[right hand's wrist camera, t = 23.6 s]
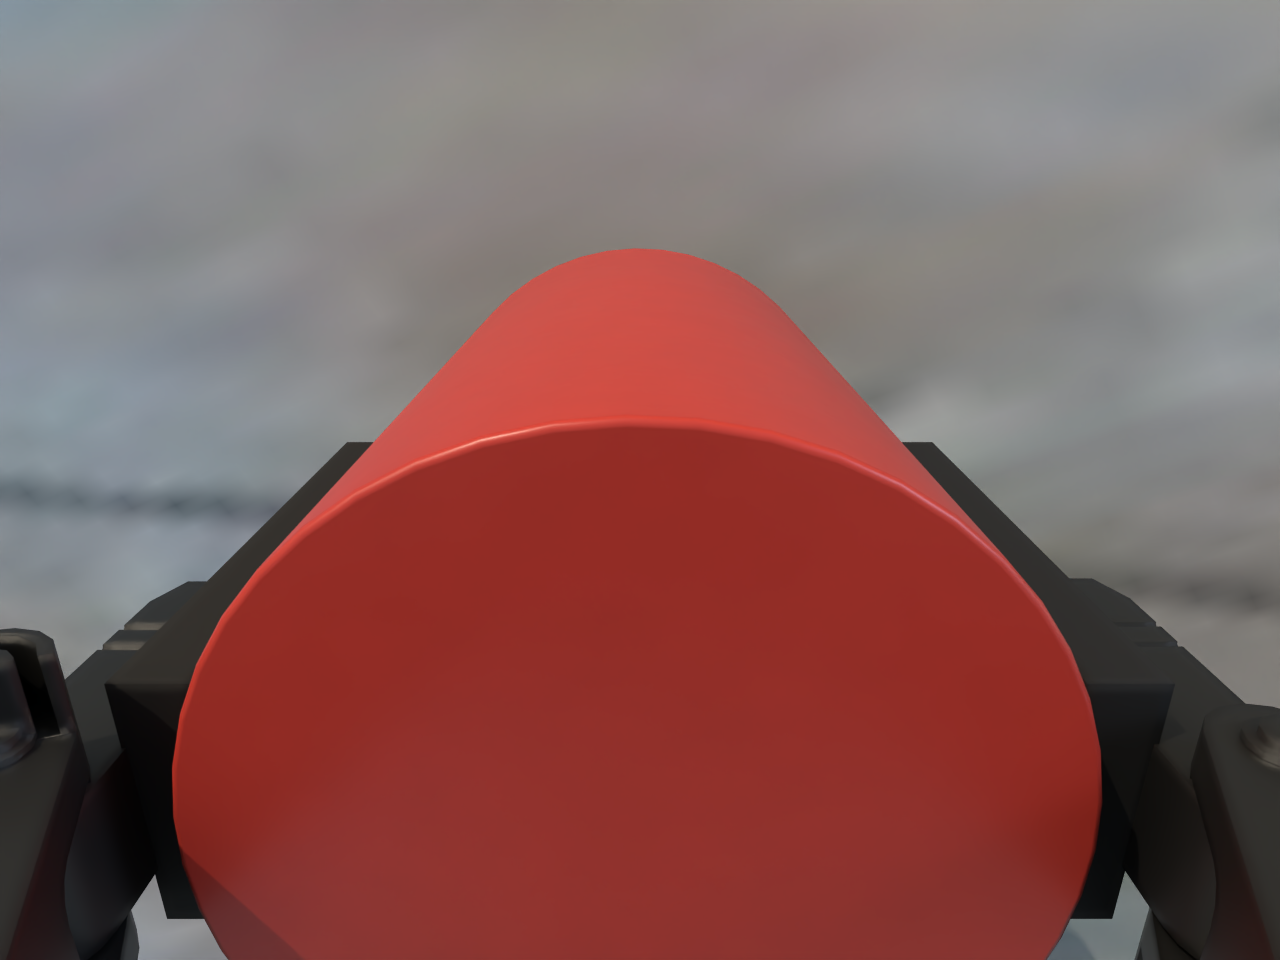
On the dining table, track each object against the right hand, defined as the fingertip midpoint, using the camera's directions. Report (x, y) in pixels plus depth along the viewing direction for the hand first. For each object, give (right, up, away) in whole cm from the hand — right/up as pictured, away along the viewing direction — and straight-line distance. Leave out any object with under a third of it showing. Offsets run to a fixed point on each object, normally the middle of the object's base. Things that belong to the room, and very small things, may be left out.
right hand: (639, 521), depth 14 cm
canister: (0, +1, +3) cm, 4 cm away
